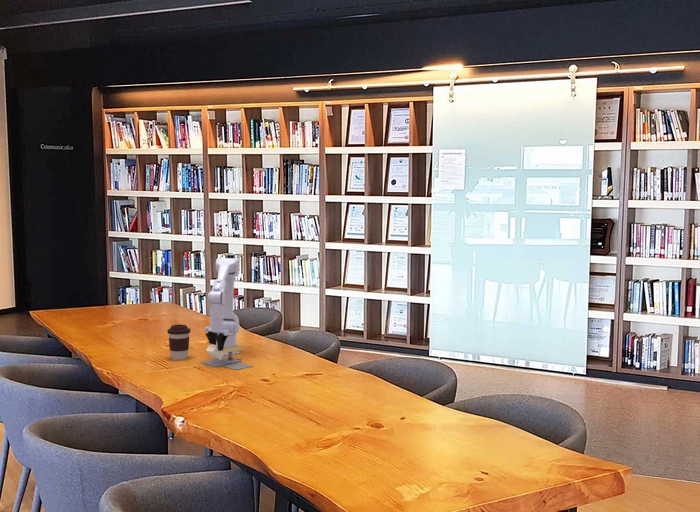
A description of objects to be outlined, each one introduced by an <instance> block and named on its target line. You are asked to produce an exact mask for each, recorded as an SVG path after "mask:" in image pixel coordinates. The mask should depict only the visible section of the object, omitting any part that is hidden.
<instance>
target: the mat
mask: <svg viewBox="0 0 700 512" xmlns="http://www.w3.org/2000/svg"><path fill="white" fill-rule="evenodd" d="M226 367H227V368H226ZM223 368H226V369H231V370H235V371H239V370H243V369H244V368H245V369H248V368H254V365H251V364H247V363H242V362H240V363H235V364H230V365H226V366H223Z"/></svg>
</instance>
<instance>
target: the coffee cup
mask: <svg viewBox="0 0 700 512" xmlns="http://www.w3.org/2000/svg"><path fill="white" fill-rule="evenodd" d="M190 333H191V328H190V327H188V325H186V324H173V325H171V326H170V327H169V328H168V329H167V334H168V344H169V346H168V347H169V352H170V359H171V360H173V361H183V360H187V359H188V358H189V357H188V356H189V347H190Z"/></svg>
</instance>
